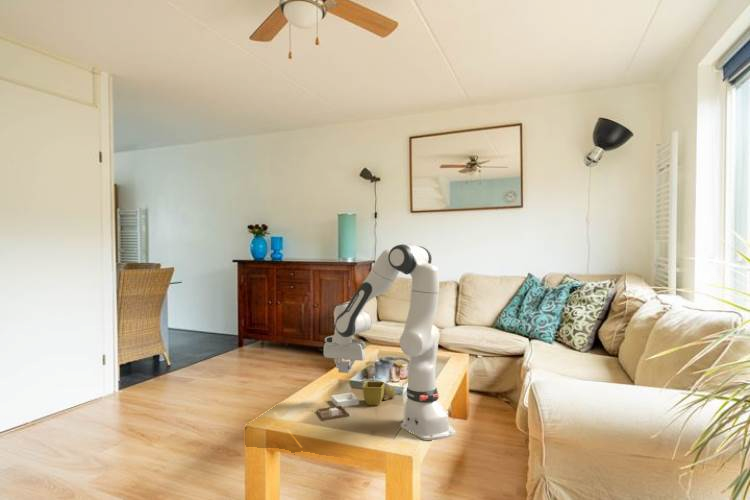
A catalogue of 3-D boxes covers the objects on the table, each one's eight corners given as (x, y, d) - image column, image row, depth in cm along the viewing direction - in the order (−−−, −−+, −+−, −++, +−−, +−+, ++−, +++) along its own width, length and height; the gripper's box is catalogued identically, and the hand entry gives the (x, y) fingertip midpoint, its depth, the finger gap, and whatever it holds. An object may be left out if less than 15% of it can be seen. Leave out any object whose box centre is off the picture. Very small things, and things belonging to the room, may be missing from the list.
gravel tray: (349, 417, 167) (349, 413, 167) (323, 421, 163) (323, 418, 163) (341, 408, 177) (341, 405, 178) (317, 412, 173) (317, 409, 173)
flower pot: (381, 408, 178) (381, 387, 178) (362, 407, 179) (362, 386, 180) (385, 401, 186) (385, 381, 187) (367, 400, 188) (366, 381, 188)
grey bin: (359, 405, 181) (358, 398, 181) (337, 409, 177) (337, 402, 177) (351, 398, 190) (351, 392, 190) (331, 402, 187) (331, 395, 187)
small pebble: (338, 417, 167) (338, 409, 167) (331, 418, 165) (331, 411, 165) (335, 414, 169) (335, 407, 169) (329, 416, 168) (329, 408, 168)
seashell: (384, 410, 186) (394, 399, 184) (372, 400, 187) (382, 388, 185) (389, 399, 195) (399, 388, 193) (378, 390, 196) (387, 379, 194)
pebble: (351, 370, 186) (351, 360, 186) (347, 373, 182) (347, 363, 182) (342, 369, 188) (342, 360, 188) (338, 372, 183) (338, 362, 183)
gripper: (367, 338, 184) (367, 368, 183) (328, 335, 192) (328, 365, 191) (361, 341, 178) (362, 372, 178) (321, 338, 186) (321, 368, 185)
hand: (344, 368), depth 184 cm, fingers closed on pebble, 5 cm apart
